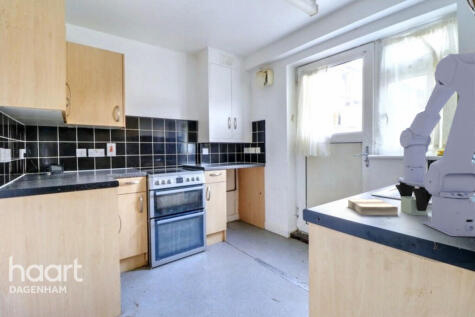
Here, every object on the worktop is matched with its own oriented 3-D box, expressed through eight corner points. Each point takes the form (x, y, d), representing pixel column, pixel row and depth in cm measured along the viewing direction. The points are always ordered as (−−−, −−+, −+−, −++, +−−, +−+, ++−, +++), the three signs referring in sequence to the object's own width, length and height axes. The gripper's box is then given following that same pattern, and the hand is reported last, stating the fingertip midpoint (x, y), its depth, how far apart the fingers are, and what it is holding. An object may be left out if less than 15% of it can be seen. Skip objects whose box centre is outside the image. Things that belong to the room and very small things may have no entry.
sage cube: (427, 215, 71) (427, 199, 71) (410, 215, 71) (411, 199, 71) (416, 210, 76) (416, 196, 76) (400, 210, 76) (401, 196, 76)
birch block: (397, 216, 72) (397, 207, 72) (361, 216, 73) (361, 207, 73) (379, 207, 83) (379, 199, 83) (348, 207, 84) (348, 199, 84)
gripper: (446, 168, 65) (445, 214, 66) (411, 164, 80) (411, 202, 80) (420, 168, 66) (419, 214, 67) (391, 165, 81) (390, 202, 81)
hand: (413, 207), depth 74 cm, fingers open, 6 cm apart
